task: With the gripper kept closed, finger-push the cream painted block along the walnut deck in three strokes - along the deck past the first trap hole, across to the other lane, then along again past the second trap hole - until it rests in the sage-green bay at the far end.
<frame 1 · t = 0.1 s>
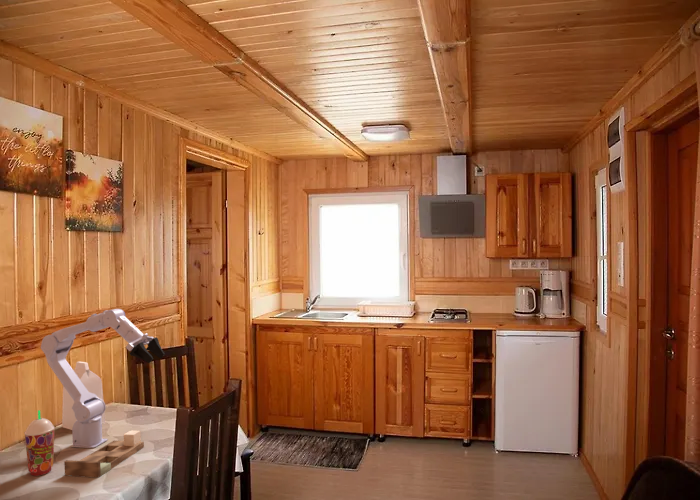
hand: (157, 358, 182), 32 cm above the table, tool tilted 50°, fingers open, 7 cm apart
deck: (107, 459, 172), on the table
block: (132, 443, 181), point 2 cm above the table, touching deck
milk: (84, 425, 209), on the table
smoothie: (41, 472, 164), on the table
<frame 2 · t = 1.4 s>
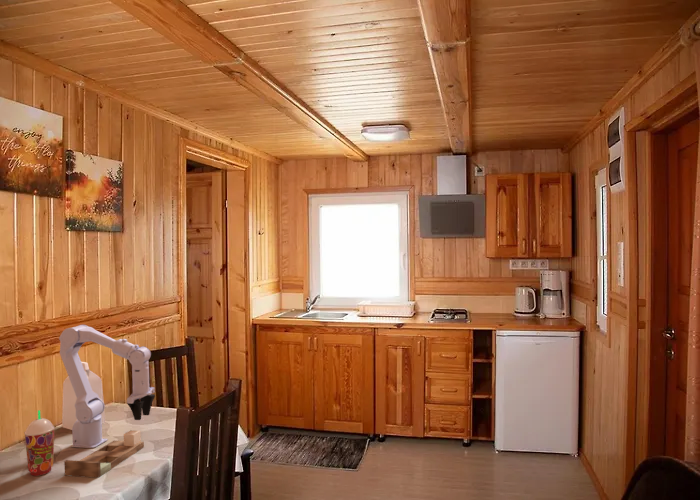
hand: (142, 417, 187), 9 cm above the table, tool pointing down, fingers open, 5 cm apart
nothing on the table moved.
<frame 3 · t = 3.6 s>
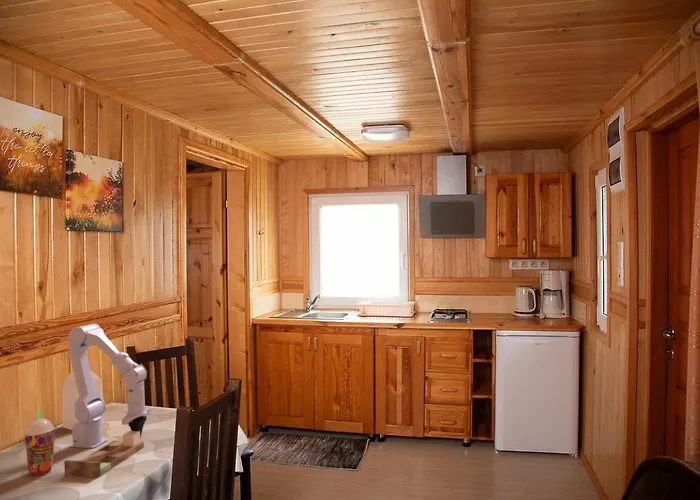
hand: (137, 437, 184), 3 cm above the table, tool pointing down, fingers closed
block: (131, 444, 180), point 2 cm above the table, touching gripper
everything else where it was.
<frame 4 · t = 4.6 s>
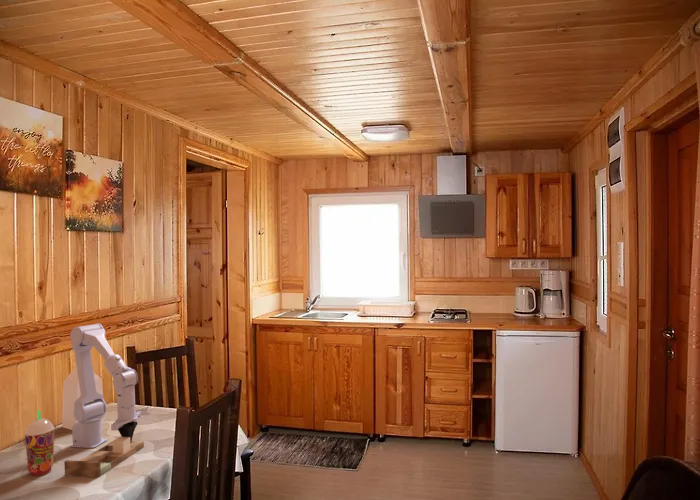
hand: (127, 443, 178), 3 cm above the table, tool pointing down, fingers closed
block: (121, 450, 174), point 2 cm above the table, touching deck, gripper
everything else where it was.
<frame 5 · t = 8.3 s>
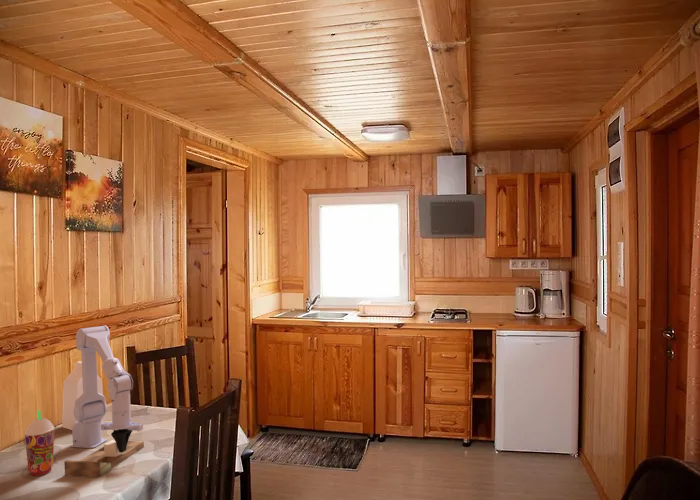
hand: (122, 451, 171), 3 cm above the table, tool pointing down, fingers closed
block: (113, 454, 171), point 2 cm above the table, touching gripper
everything else where it was.
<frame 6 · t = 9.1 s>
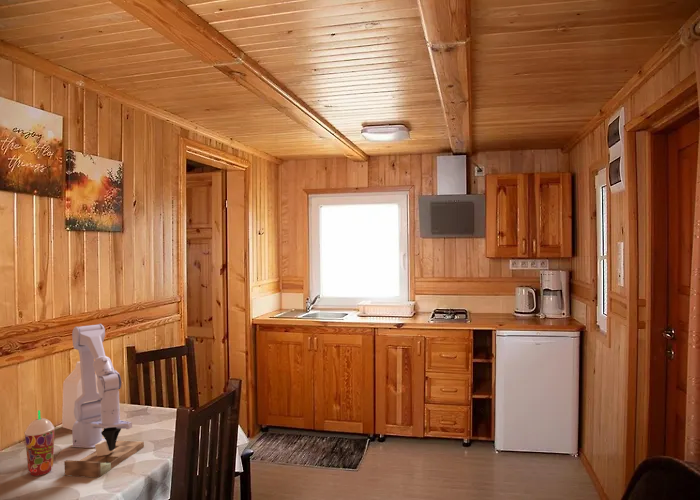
hand: (112, 449, 172), 4 cm above the table, tool pointing down, fingers closed, pressing on block
block: (106, 453, 172), point 2 cm above the table, tilted 11°, touching deck, gripper
everything else where it was.
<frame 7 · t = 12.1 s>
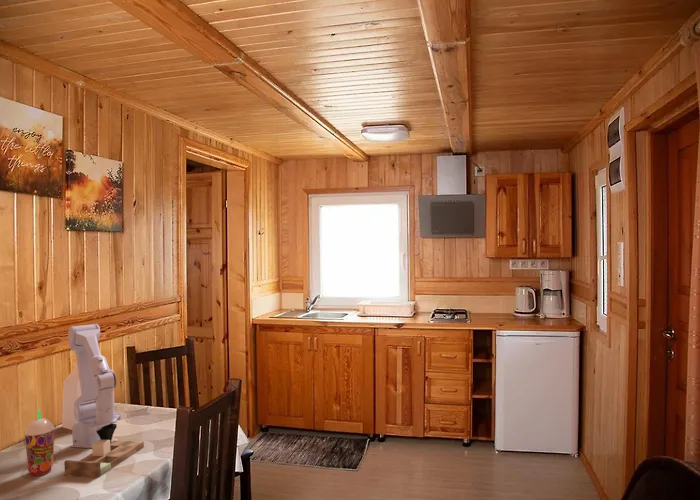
hand: (106, 446, 176), 3 cm above the table, tool pointing down, fingers closed
block: (101, 453, 172), point 2 cm above the table, touching deck, gripper
everything else where it was.
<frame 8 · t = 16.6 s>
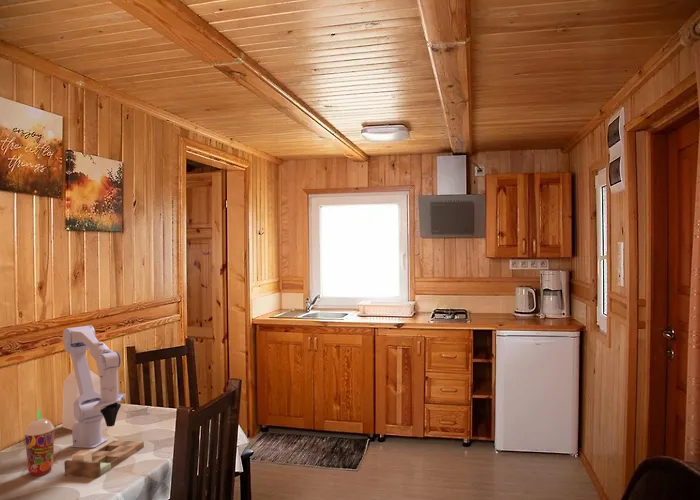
hand: (110, 425, 177), 10 cm above the table, tool pointing down, fingers closed
block: (82, 465, 163), point 2 cm above the table, touching deck
everything else where it was.
at the end: block 0.5 cm from the target spot on the deck, point 2.0 cm above the deck's base; block tilted 0° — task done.
